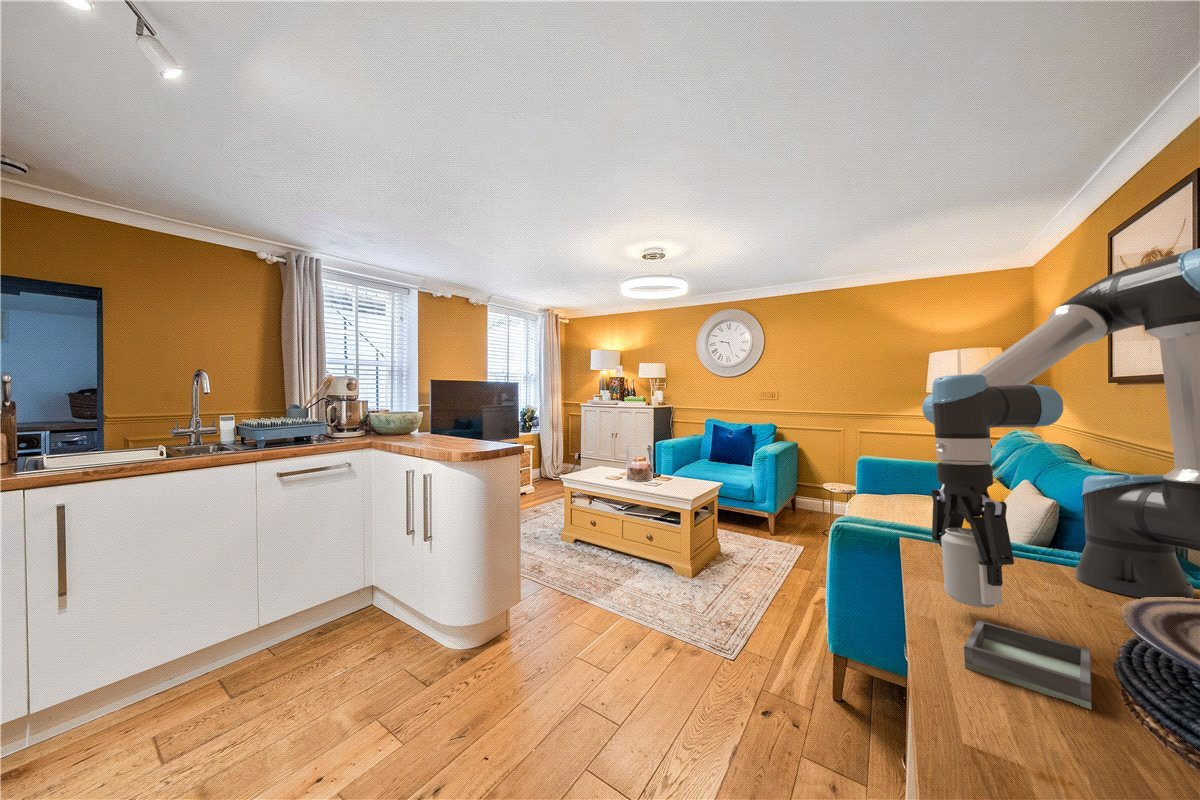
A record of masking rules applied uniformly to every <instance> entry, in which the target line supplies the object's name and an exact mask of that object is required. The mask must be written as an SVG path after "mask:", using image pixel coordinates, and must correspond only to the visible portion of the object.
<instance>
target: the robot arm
mask: <svg viewBox="0 0 1200 800" xmlns="http://www.w3.org/2000/svg"><path fill="white" fill-rule="evenodd" d="M1140 326H1143V327H1144V332H1145V334H1146V335H1150V336H1152V337H1154V338H1156V339H1158V340H1159V348H1160V357H1161V364H1162V373H1163V381H1164V387H1165V388H1164V389H1165V397H1166V405H1167V412H1168V421H1169V429H1170V436H1171V445H1172V454H1173V461H1174V469H1171V471H1169V472H1167V473H1166V474H1158V475H1157V474H1140V475H1139V474H1133V475H1132V474H1129V475H1128V474H1127V475H1126V474H1123V475H1116V474H1115V475H1113V474H1112V475H1111V474H1110V475H1106V474H1105V475H1104V474H1103V475H1102V474H1100V475H1089V476H1087V477H1085V478H1084V480H1083V483H1082V492H1081V496H1082V507H1083V516H1084V529H1085V530H1084V531H1085V545H1084V548H1083V550H1082V553H1081V555H1080V559H1079V562H1078V563H1077V565H1076V566H1075V579H1077V580H1078V581H1080V582H1082V583H1083V584H1085V585H1089V586H1091V587H1093V588H1097V589H1100V590H1103V591H1108V592H1111V593H1116V594H1118V595H1123V596H1128V597H1133V598H1139V599H1144V598H1143V597H1185V598H1194V599H1195V593H1194V587H1193V585H1192V583H1190V582H1189V580H1188V577H1187V575H1186V573H1185V570H1184V569H1183V567H1182V565H1181V564H1180V563H1181V562H1179V559H1178V558H1177V555H1176V554H1177V553H1176V547H1177V548H1182V549H1187V550H1192V551H1196V552H1200V248H1195V249H1189V250H1188V249H1187V250H1186V251H1184V252H1181V253H1178V254H1174V255H1171V256H1168V257H1164V258H1161V259H1158V260H1157V259H1156V260H1154V261H1151V262H1148V263H1145V264H1144V263H1143V264H1141V265H1137V266H1133V267H1130V268H1126V269H1123V270H1120V271H1117V272H1115V273H1112V274H1110V275H1107V276H1105V277H1103V278H1101V279H1099V280H1098V281H1096V282H1094V283H1092V284H1091V285H1089V286H1088V287H1086V288H1085V289H1083V290H1081V291H1079V292H1077V294H1075V295H1073V296H1072V297H1070V298H1068V299H1067V300H1066V301H1064V302H1063V303H1061V305H1059V306H1057V307H1056V308H1054V309H1053V310H1052V311H1051V312H1050V314H1049V316H1048V319H1047V320H1046V321H1044V322H1043V323H1042V324H1041V325H1039V326H1037V328H1035V329H1034V330H1032V331H1030V332H1029V333H1028V334H1027V335H1025V336H1024V337H1022V338H1021V339H1020V340H1018V341H1017V342H1015V343H1014V344H1013V345H1011V346H1009V347H1008V348H1007V349H1006V350H1004V351H1002V352H1001V353H999V354H998V355H997V356H995V357H994V358H992V359H990V361H988V362H987V363H985V364H984V365H982V366H981V367H980V368H978V369H977V370H975V371H974V372H973V373H971V374H970V373H969V374H953V375H944V376H939V377H936V378H935V379H934V380H933V382H932V388H931V389H932V391H931V393H930V394H928V395H927V396H926V397H925V399H924V400H923V402H922V405H921V410H922V414H923V416H924V418H925V419H926V420H927V421H928V422H929V423H930V424H932V425H933V427H934V437H935V449H936V450H935V452H936V454H935V455H936V459H938V460H939V462H938V463H937V464H936V473H937V481H938V482H939V483H940V484H941V485H942V484H943V485H944V487H943V488H942V489H932V490H931V498H932V502H933V503H932V522H931V523H932V525H931V526H932V528H931V538H932V540H933V541H934V542H938V545H939V546H940V547H941V548H942V541H941V537H942V536H943V535H944V534H945V533H946V531H945V529H947V528H963V525H964V521H966V523H968V524H969V526H970V529H972V531H973V534H974V537H975V540H976V543H977V546H978V549H979V552H980V554H981V557H982V560H983V561H979V578H980V593H981V603H983V604H985V605H995V606H997V605H1000V606H1001V605H1003V600H1002V599H1003V596H1002V587H1003V583H1004V582H1003V566H1009V565H1011V566H1012V565H1014V564H1015V560H1014V554H1013V553H1014V552H1013V548H1012V543H1011V539H1010V532H1009V527H1008V523H1007V519H1006V518H1007V517H1006V516H1007V509H1008V508H1007V507H1008V506H1007V503H1006V502H1005V501H996V500H994V499H991V496H990V494H989V492H988V488H989V487H991V486H993V484H994V475H993V474H994V473H993V466H992V465H991V464H989V463H988V462H991V461H992V460H993V454H992V444H991V441H992V440H991V429H993V428H1031V429H1034V428H1037V427H1038V428H1039V427H1046V426H1050V425H1052V424H1055V423H1056V422H1057V421H1058V420H1059V419H1060V418H1061V417H1062V416H1063V413H1064V401H1063V398H1062V396H1061V394H1060V393H1059V392H1058V391H1057V390H1055V389H1054V388H1052V387H1050V386H1047V385H1041V384H1040V385H1037V384H1031V383H1030V382H1032V381H1033V380H1035V379H1036V378H1037V377H1039V376H1040V375H1042V374H1043V373H1044V372H1046V371H1047V370H1049V369H1050V368H1052V367H1053V366H1054V365H1056V364H1057V363H1058V362H1060V361H1062V360H1063V359H1064V358H1066V357H1068V356H1069V355H1071V354H1072V353H1073V352H1075V351H1076V350H1077V349H1079V348H1080V347H1082V346H1083V345H1089V344H1093V343H1096V342H1099V341H1101V340H1102V339H1104V337H1107V336H1108V335H1110V334H1112V333H1116V332H1119V331H1123V330H1125V329H1126V330H1127V329H1130V328H1133V327H1134V328H1135V327H1140ZM990 555H991V557H990Z"/></svg>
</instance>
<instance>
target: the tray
mask: <svg viewBox="0 0 1200 800" xmlns="http://www.w3.org/2000/svg"><path fill="white" fill-rule="evenodd" d="M963 652H964V653H963V654H964V655H963V656H964V668H965V669H967V670H971V671H974V672H976V673H979V674H983V675H985V676H987V677H991V678H994V679H997V680H1001V681H1004V682H1006V683H1009V684H1013V685H1015V686H1019V687H1022V688H1025V689H1028V690H1031V691H1033V690H1034V691H1033V692H1036V691H1037V693H1040V694H1041V695H1046V696H1049V697H1051V696H1052V698H1054V697H1056V698H1055V699H1057V698H1060V699H1065V700H1068V701H1070V702H1072V703H1074V704H1073V705H1075V704H1077V705H1076V706H1078V705H1080V706H1079V707H1081V708H1084V709H1088V710H1091V711H1092V664H1091V650H1090V648H1087V647H1086V648H1085V647H1082V646H1078V645H1075V644H1074V645H1073V644H1070V643H1066V642H1062V641H1059V640H1055V639H1052V638H1049V637H1048V638H1047V637H1044V636H1041V635H1040V636H1039V635H1036V634H1032V633H1028V632H1025V631H1021V630H1016V629H1014V628H1009V627H1005V626H1001V625H999V624H994V623H990V622H986V621H982V620H979V619H978V620H977V621H976V624H975V626H974V627H973V628H972V631H971V633H970V634H969V636H968V638H967V640H966V641H965V644H964V645H963ZM1060 699H1059V700H1060ZM1072 703H1071V704H1072Z"/></svg>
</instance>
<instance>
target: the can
mask: <svg viewBox="0 0 1200 800" xmlns="http://www.w3.org/2000/svg"><path fill="white" fill-rule="evenodd" d="M945 531H946V533H945V534H944V535H943V536H942V537H941V541H942V547H941V553H942V554H941V555H942V557H941V558H942V570H943V585H944V593H946V594H947V595H948V596H949V597H950V598H951V600H954V601H956V602H958V603H961V604H964V605H967V606H971V607H975V608H984V609H985V608H994V607H995V606H996V605H985V604H983V603H981V593H980V578H979V561H983V560H982V557H981V554H980V552H979V549H978V546H977V543H976V540H975V537H974V534H973V531H972V529H971V528H969V527H962V528H947V529H945ZM990 557H991V555H990Z"/></svg>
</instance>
